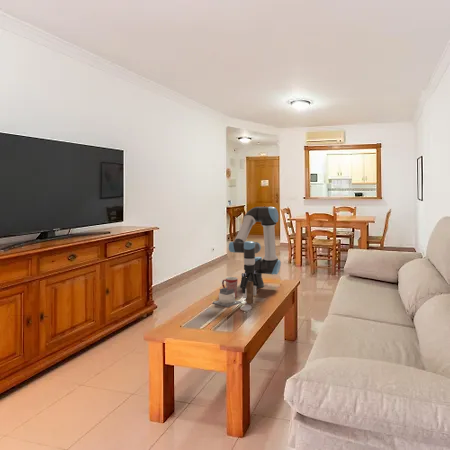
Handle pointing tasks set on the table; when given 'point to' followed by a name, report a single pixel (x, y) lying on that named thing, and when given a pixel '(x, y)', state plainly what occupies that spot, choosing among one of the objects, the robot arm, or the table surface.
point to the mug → (231, 284)
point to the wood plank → (249, 292)
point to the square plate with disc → (226, 298)
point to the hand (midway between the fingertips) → (249, 296)
